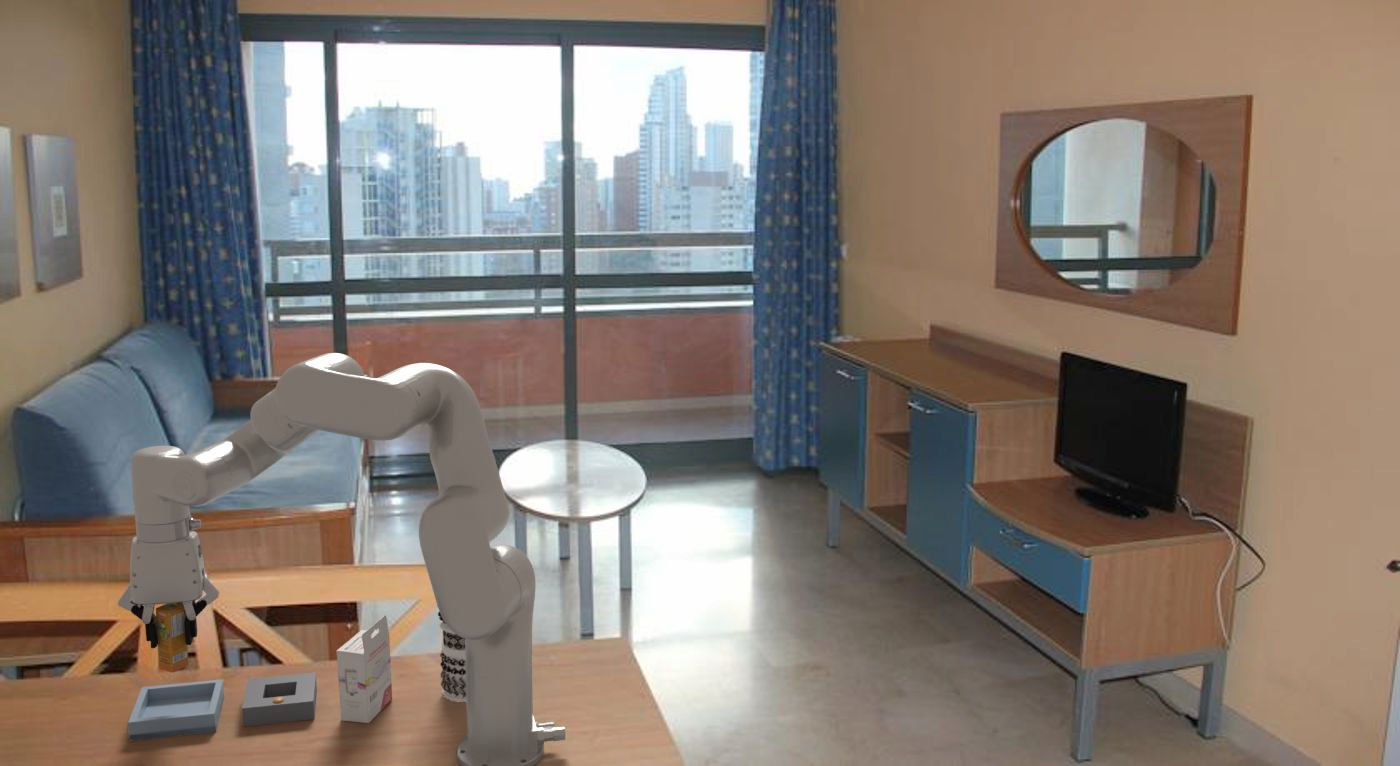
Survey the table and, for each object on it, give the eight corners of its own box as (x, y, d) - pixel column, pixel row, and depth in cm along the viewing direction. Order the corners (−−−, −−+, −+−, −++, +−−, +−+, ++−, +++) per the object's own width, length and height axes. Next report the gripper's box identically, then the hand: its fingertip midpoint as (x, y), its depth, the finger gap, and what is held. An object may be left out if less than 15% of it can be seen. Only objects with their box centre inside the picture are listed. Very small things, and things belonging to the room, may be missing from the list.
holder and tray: (317, 687, 198) (316, 669, 198) (314, 721, 187) (313, 702, 186) (143, 704, 192) (141, 685, 191) (129, 741, 180) (127, 721, 180)
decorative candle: (448, 676, 203) (444, 534, 198) (502, 680, 202) (499, 537, 197) (431, 702, 194) (426, 553, 189) (488, 705, 193) (484, 556, 188)
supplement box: (155, 668, 185) (153, 607, 183) (174, 661, 188) (172, 600, 186) (170, 674, 184) (168, 612, 182) (189, 666, 186) (188, 605, 185)
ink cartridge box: (364, 696, 196) (360, 610, 193) (393, 699, 195) (389, 613, 192) (338, 721, 187) (334, 632, 184) (368, 724, 186) (364, 635, 183)
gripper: (226, 517, 187) (233, 628, 191) (107, 524, 183) (117, 638, 186) (221, 533, 180) (228, 648, 184) (97, 541, 175) (107, 658, 179)
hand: (172, 642), depth 185 cm, fingers closed on supplement box, 4 cm apart
